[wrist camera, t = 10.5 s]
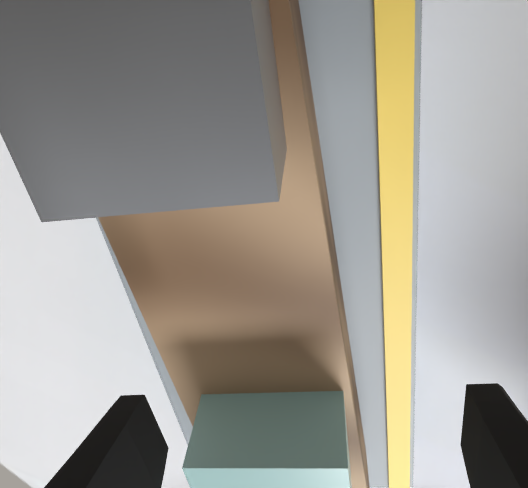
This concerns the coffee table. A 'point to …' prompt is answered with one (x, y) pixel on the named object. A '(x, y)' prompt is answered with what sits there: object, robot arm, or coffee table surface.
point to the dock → (365, 209)
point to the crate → (141, 104)
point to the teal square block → (269, 441)
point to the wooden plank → (251, 274)
